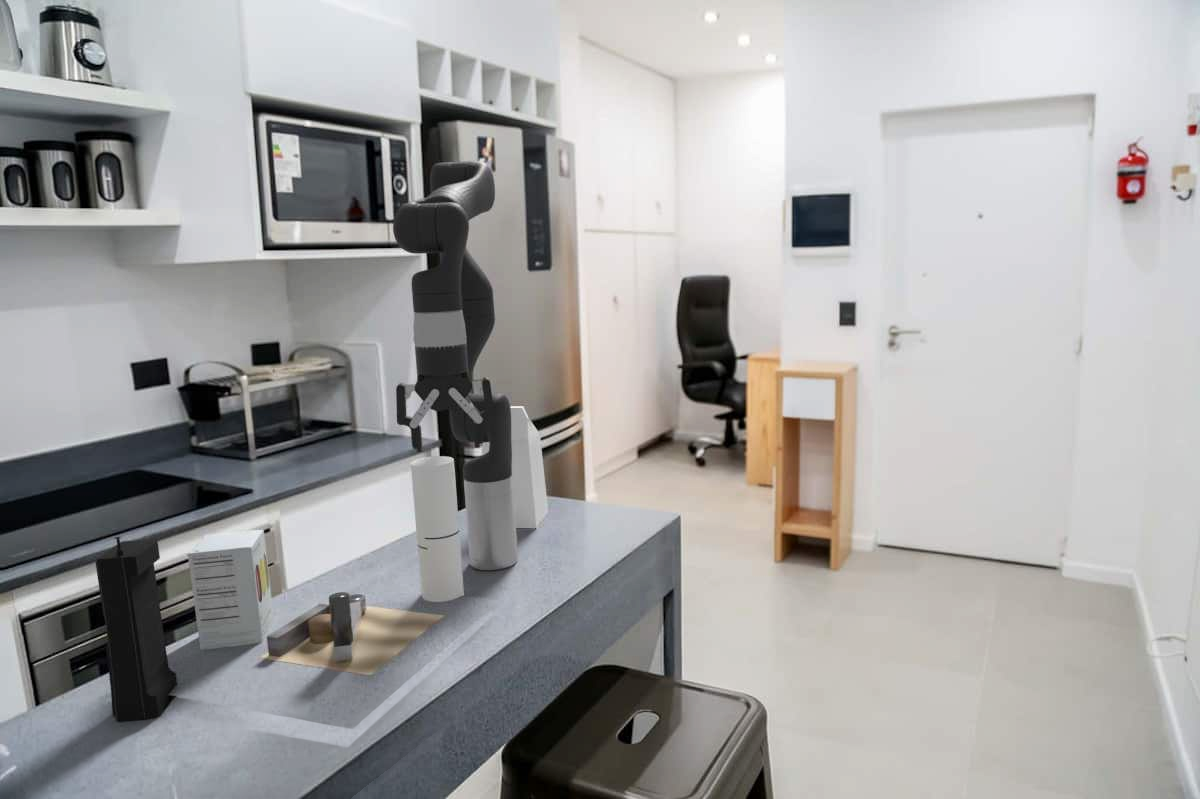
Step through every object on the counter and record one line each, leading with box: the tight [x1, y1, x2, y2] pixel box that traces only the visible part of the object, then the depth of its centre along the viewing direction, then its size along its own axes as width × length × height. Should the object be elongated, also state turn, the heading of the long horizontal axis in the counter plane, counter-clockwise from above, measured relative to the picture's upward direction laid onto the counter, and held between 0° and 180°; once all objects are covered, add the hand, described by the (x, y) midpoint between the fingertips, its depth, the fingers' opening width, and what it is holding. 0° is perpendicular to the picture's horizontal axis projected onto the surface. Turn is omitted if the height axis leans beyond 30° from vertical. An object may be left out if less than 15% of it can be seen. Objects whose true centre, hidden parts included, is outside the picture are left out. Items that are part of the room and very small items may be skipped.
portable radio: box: [95, 536, 178, 722], centre depth 111 cm, size 8×6×25 cm
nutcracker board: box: [259, 603, 445, 676], centre depth 128 cm, size 20×20×4 cm
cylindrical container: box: [410, 455, 465, 603], centre depth 141 cm, size 7×7×25 cm
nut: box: [308, 614, 333, 644], centre depth 127 cm, size 4×4×3 cm
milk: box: [481, 405, 549, 529], centre depth 184 cm, size 12×12×26 cm
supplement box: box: [187, 529, 275, 650], centre depth 129 cm, size 10×9×17 cm
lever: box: [328, 591, 367, 661], centre depth 128 cm, size 19×4×9 cm, turn 11°
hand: (448, 449), depth 124 cm, fingers open, 8 cm apart
